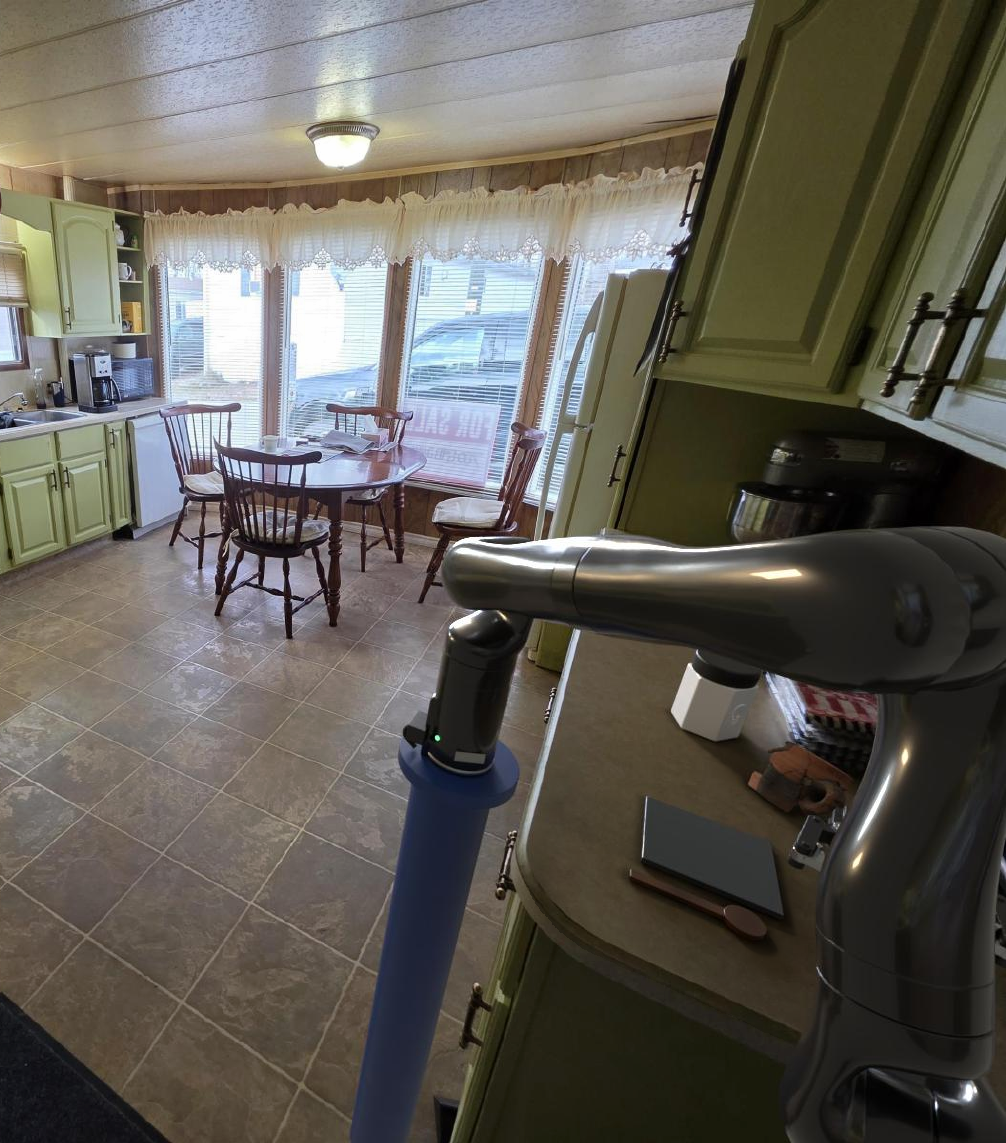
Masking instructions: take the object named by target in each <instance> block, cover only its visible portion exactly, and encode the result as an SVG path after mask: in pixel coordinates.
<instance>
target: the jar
mask: <svg viewBox="0 0 1006 1143" xmlns="http://www.w3.org/2000/svg"><path fill="white" fill-rule="evenodd" d="M762 673H763V670H760V669H757V668H754V667H751V666H748V665H745V664H742V663H739V662H736V661H733V660H730V659H726V658H723V657H720V656H717V655H714V654H711V653H707V652H704V651H700V650H697V649H696V650H695V654H694V657H693V659H692V662H689V663H688V664H687V666H686V669H685V672H684V674H683V676H682V680H681V682H680V684H679V688H678V690H677V692H676V696H675V698H674V700H673V703H672V707H671V710H670V712H671V714H672V716H673V717H674V719H675V721H676V723H677V724H678V725H679V727H680V729H682V730H685V731H688V732H690V733H692V734H695V735H697V736H700V737H702V738H704V739H708V740H709V741H712V742H721V741H726V740H732V739H738V738H739V736H740V734H741V731H742V729H743V727H744V725H745V722H746V720H747V717H748V715H749V713H750V710H751V708H752V706H753V704H754V701H755V699H756V697H757V695H758V692H759V689H760V686H759V685H758V683H759V682H760V679H761V676H762Z"/></svg>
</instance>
